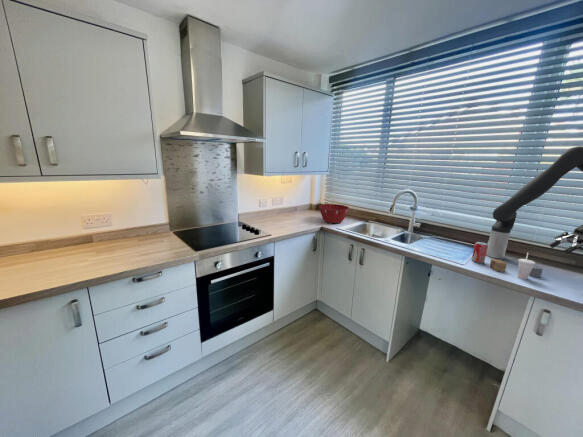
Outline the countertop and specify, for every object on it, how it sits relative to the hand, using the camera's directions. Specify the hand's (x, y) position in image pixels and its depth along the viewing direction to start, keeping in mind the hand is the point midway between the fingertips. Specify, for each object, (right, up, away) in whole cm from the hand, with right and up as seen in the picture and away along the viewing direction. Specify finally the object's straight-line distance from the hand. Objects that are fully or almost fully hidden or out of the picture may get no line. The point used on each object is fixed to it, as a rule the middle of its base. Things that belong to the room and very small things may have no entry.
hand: (557, 249), depth 122 cm
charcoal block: (-3, -15, +10) cm, 19 cm away
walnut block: (-17, -14, +16) cm, 27 cm away
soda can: (-20, -11, +27) cm, 35 cm away
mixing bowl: (-94, +12, +114) cm, 148 cm away
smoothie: (-12, -16, +6) cm, 21 cm away
